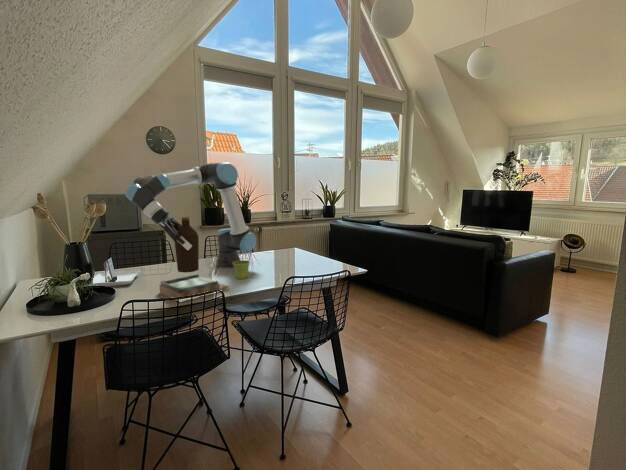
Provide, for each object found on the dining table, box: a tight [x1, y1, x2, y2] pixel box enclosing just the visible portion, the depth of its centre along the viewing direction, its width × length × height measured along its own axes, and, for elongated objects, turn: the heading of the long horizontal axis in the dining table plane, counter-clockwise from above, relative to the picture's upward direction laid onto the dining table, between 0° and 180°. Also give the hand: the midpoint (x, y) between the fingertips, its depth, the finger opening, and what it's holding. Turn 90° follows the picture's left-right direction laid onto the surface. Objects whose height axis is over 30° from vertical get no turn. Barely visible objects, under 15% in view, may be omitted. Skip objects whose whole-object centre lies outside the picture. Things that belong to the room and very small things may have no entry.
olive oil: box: [174, 216, 200, 273], centre depth 160 cm, size 11×11×25 cm
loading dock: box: [158, 273, 230, 298], centre depth 165 cm, size 25×20×6 cm
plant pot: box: [233, 259, 251, 280], centre depth 188 cm, size 9×9×9 cm
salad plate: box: [92, 269, 141, 287], centre depth 181 cm, size 21×21×3 cm
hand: (193, 245), depth 160 cm, fingers closed on olive oil, 10 cm apart
